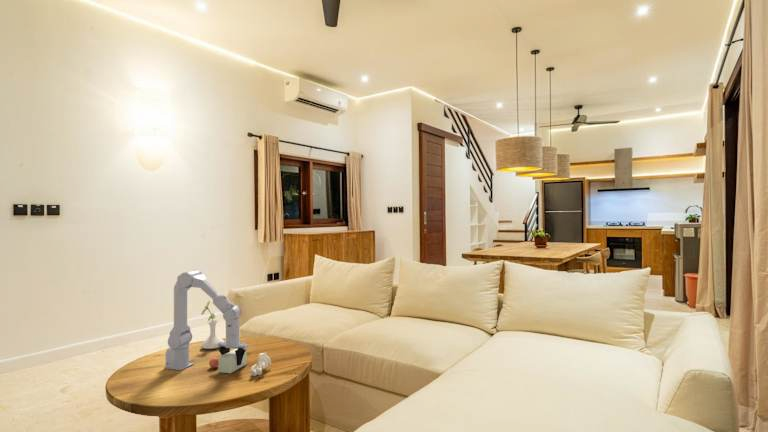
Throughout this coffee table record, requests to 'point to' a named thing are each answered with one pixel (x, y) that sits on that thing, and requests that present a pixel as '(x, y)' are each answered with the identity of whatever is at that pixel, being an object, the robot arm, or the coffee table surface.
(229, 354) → the pale green block
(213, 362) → the ball
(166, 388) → the coffee table surface
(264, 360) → the white lumpy piece
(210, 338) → the flower in vase
